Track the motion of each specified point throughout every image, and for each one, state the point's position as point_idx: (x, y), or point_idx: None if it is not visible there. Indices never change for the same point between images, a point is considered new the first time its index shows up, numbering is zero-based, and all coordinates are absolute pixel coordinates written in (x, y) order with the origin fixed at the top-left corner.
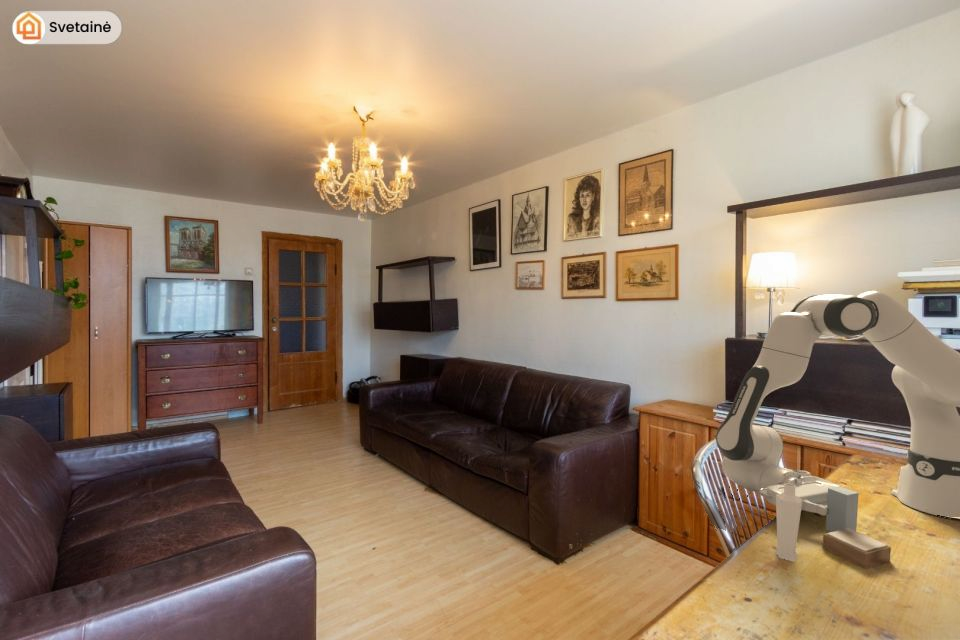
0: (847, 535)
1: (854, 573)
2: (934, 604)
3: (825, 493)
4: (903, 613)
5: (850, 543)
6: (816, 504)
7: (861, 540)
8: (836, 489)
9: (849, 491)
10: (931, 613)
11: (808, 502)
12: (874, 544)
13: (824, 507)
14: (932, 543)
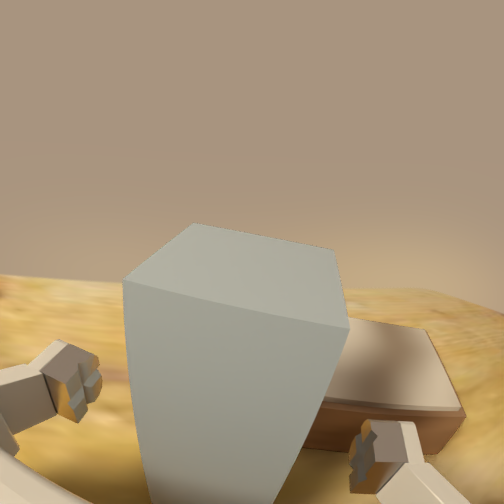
0: (395, 375)
1: (452, 367)
2: (388, 297)
3: (63, 488)
4: (457, 311)
5: (433, 354)
6: (420, 469)
7: (378, 347)
8: (287, 287)
9: (223, 242)
10: (416, 298)
11: (462, 498)
12: (359, 327)
13: (402, 426)
14: (53, 296)
